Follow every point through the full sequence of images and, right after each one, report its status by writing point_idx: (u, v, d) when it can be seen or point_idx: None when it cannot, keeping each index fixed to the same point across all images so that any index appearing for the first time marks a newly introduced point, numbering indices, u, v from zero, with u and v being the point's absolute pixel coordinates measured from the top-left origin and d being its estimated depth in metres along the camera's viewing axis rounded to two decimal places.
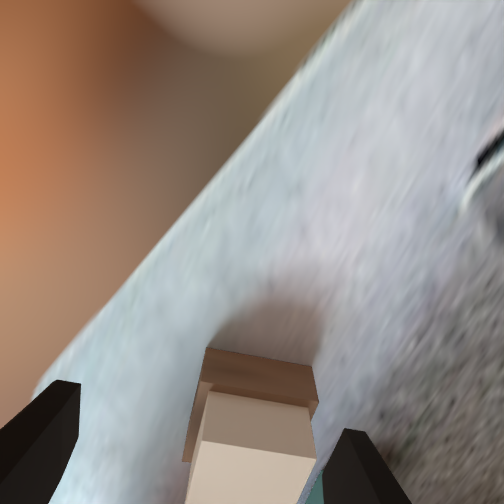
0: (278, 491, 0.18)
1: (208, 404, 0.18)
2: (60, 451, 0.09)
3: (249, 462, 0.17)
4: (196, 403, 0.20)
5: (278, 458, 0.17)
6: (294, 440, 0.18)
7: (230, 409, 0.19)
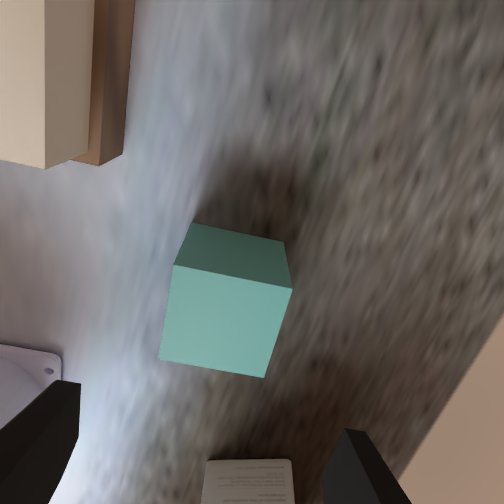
0: None
1: None
2: (60, 451, 0.09)
3: None
4: None
5: None
6: None
7: None
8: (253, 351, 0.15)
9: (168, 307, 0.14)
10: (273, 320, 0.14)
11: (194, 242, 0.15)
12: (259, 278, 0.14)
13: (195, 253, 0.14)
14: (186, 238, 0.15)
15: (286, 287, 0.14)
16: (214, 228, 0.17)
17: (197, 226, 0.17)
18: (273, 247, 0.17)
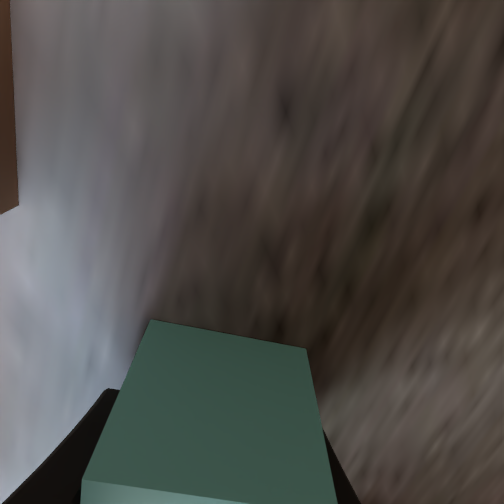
0: None
1: None
2: None
3: None
4: None
5: None
6: None
7: None
8: None
9: None
10: None
11: (144, 382, 0.08)
12: (269, 489, 0.07)
13: (141, 420, 0.07)
14: (131, 372, 0.08)
15: None
16: (188, 332, 0.10)
17: (159, 332, 0.10)
18: (291, 369, 0.10)
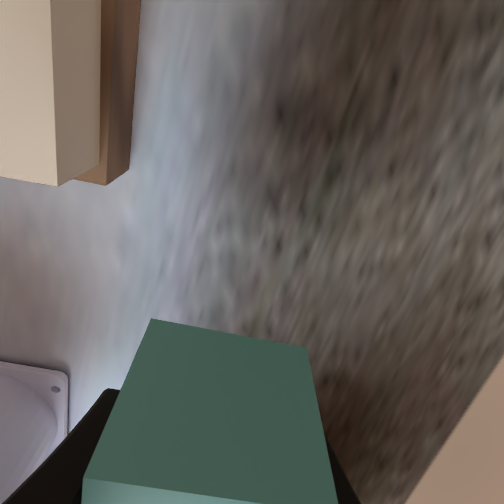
0: (4, 67, 0.09)
1: None
2: None
3: None
4: None
5: None
6: None
7: None
8: None
9: None
10: None
11: (145, 381, 0.08)
12: (269, 488, 0.07)
13: (142, 419, 0.07)
14: (132, 371, 0.08)
15: None
16: (189, 331, 0.10)
17: (159, 331, 0.10)
18: (291, 369, 0.10)
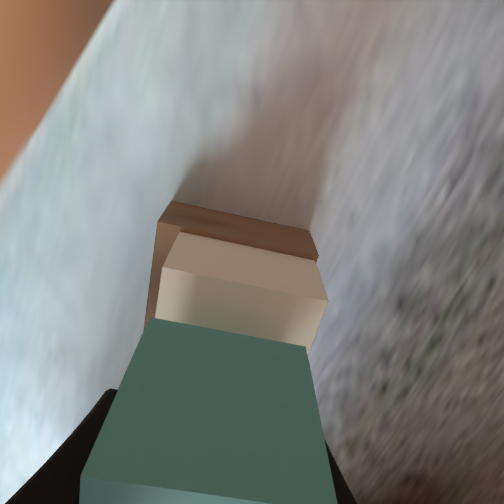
0: None
1: (177, 241, 0.13)
2: None
3: (231, 306, 0.12)
4: (154, 258, 0.15)
5: (274, 300, 0.12)
6: (296, 282, 0.13)
7: (208, 248, 0.13)
8: None
9: None
10: None
11: (143, 379, 0.08)
12: (268, 486, 0.07)
13: (140, 418, 0.07)
14: (130, 369, 0.08)
15: None
16: (188, 329, 0.10)
17: (158, 330, 0.10)
18: (290, 367, 0.10)
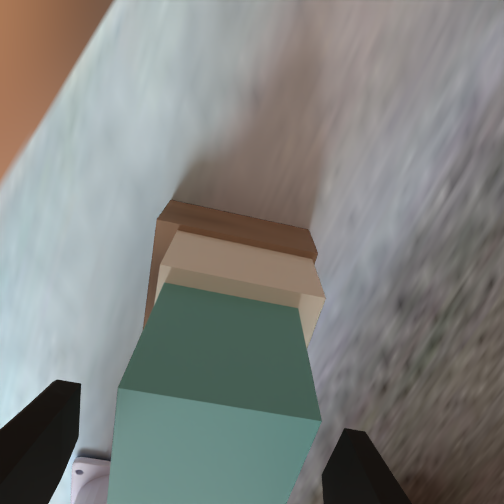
0: None
1: (175, 239, 0.13)
2: (60, 451, 0.09)
3: None
4: (153, 256, 0.15)
5: (271, 297, 0.12)
6: (294, 279, 0.13)
7: (205, 246, 0.13)
8: (256, 503, 0.09)
9: (115, 447, 0.08)
10: (288, 464, 0.09)
11: (162, 326, 0.10)
12: (264, 401, 0.08)
13: (161, 352, 0.09)
14: (150, 319, 0.10)
15: (311, 418, 0.08)
16: (197, 292, 0.12)
17: (172, 292, 0.11)
18: (284, 323, 0.11)
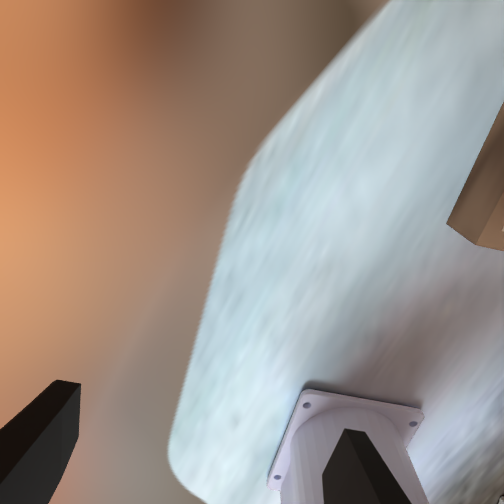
0: None
1: None
2: (60, 451, 0.09)
3: None
4: None
5: None
6: None
7: None
8: None
9: None
10: None
11: None
12: None
13: None
14: None
15: None
16: None
17: None
18: None
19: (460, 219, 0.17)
